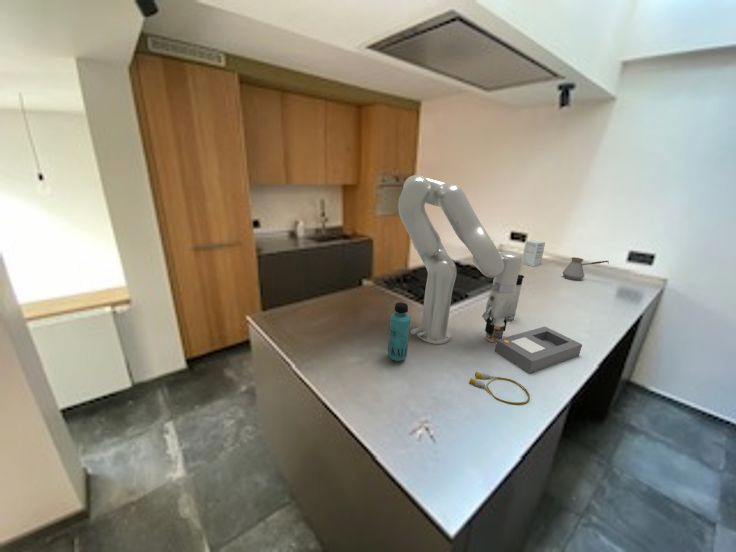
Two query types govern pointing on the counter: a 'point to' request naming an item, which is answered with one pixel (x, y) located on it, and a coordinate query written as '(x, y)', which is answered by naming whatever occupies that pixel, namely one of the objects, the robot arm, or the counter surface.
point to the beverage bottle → (399, 332)
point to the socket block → (537, 349)
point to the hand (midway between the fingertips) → (495, 330)
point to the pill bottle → (496, 330)
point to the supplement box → (533, 253)
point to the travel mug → (517, 295)
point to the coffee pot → (577, 269)
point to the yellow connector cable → (486, 376)
